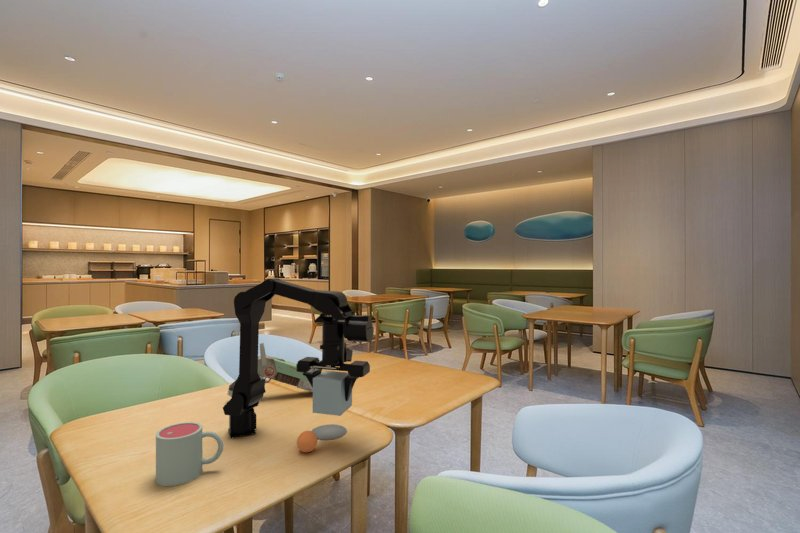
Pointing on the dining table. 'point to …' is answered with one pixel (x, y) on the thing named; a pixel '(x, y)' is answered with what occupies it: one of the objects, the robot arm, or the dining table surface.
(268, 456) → the dining table surface
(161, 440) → the mug
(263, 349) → the ray gun
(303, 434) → the ball
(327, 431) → the circle
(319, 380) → the gray-blue matte cube
